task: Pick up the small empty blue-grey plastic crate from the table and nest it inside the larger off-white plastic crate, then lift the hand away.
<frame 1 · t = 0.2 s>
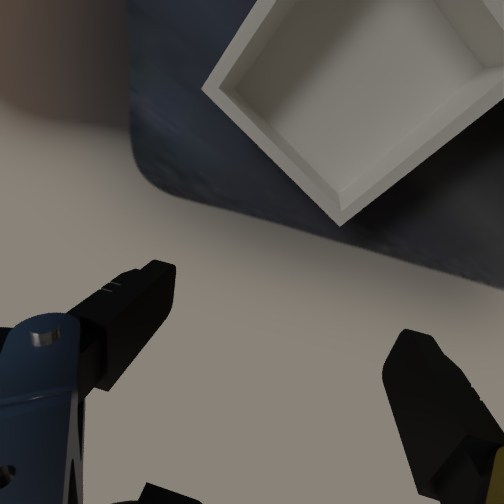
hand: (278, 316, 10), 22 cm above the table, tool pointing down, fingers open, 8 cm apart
large crate: (347, 80, 24), on the table
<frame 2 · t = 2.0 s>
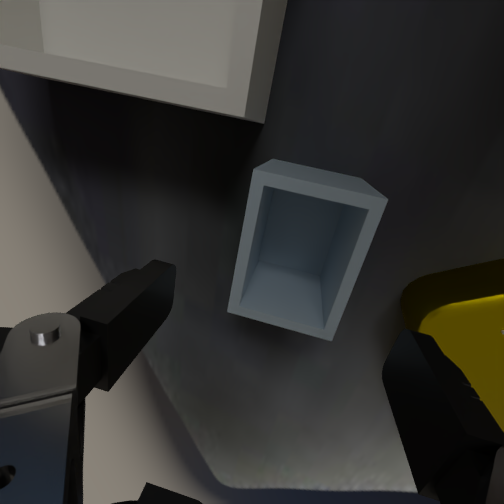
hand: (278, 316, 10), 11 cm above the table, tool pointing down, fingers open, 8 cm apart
small crate: (300, 223, 20), on the table
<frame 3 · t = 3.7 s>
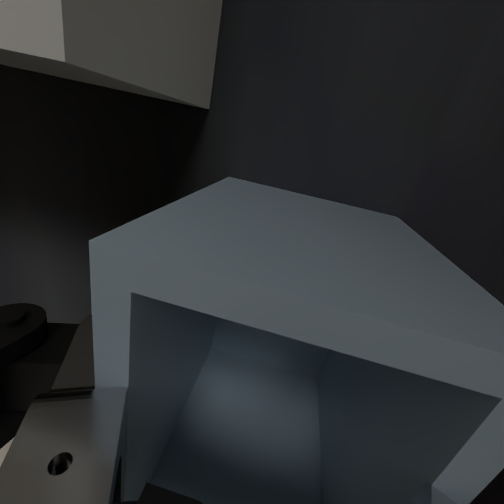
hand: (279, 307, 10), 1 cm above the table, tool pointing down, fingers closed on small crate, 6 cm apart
small crate: (283, 291, 11), on the table, touching gripper
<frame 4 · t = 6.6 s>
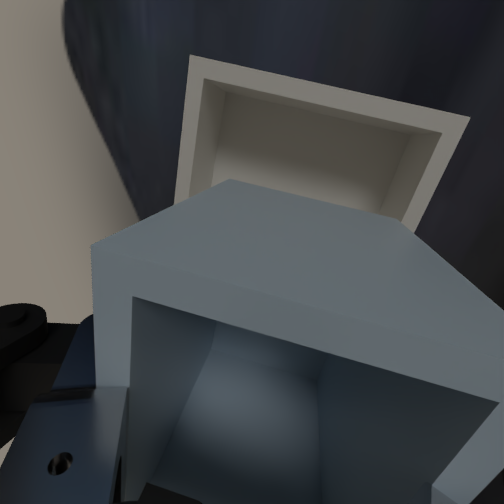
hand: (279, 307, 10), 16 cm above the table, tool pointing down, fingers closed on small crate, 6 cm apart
large crate: (290, 201, 24), on the table
small crate: (283, 293, 11), point 14 cm above the table, touching gripper
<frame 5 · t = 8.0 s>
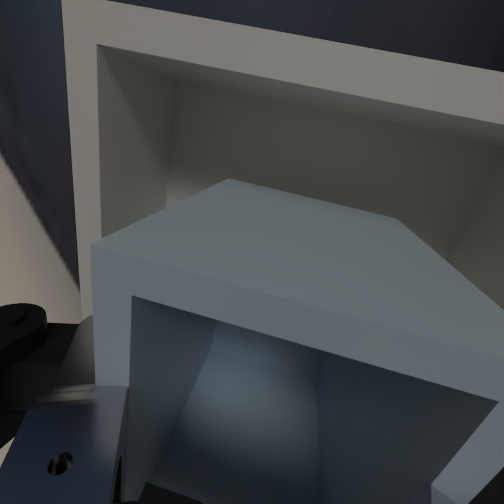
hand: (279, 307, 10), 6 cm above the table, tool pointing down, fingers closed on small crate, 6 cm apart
large crate: (290, 252, 15), on the table
small crate: (282, 292, 11), point 4 cm above the table, touching gripper
when the fingers open (4 cm above the table, at t = 9.3 s): small crate drops 1 cm, resting on large crate.
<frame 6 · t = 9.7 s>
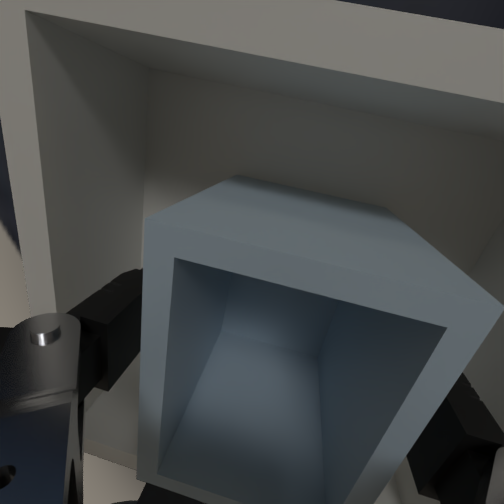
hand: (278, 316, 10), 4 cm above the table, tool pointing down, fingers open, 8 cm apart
large crate: (286, 267, 13), on the table
small crate: (286, 277, 13), point 1 cm above the table, touching large crate
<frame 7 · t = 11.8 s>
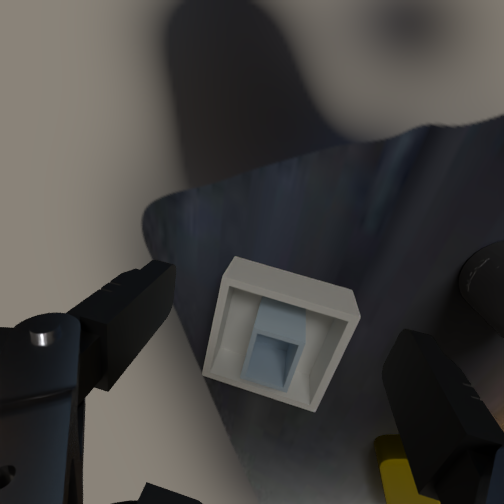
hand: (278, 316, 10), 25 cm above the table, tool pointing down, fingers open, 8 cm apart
large crate: (277, 320, 40), on the table
small crate: (276, 325, 39), point 1 cm above the table, touching large crate
element tile: (426, 462, 45), on the table
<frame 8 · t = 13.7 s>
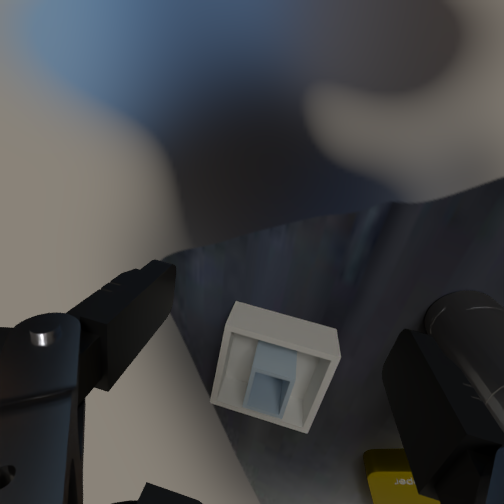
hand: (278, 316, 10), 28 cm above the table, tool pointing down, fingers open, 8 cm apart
large crate: (273, 353, 46), on the table
small crate: (273, 358, 45), point 1 cm above the table, touching large crate
element tile: (409, 473, 51), on the table
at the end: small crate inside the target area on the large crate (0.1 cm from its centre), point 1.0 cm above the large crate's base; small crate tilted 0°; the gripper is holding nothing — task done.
